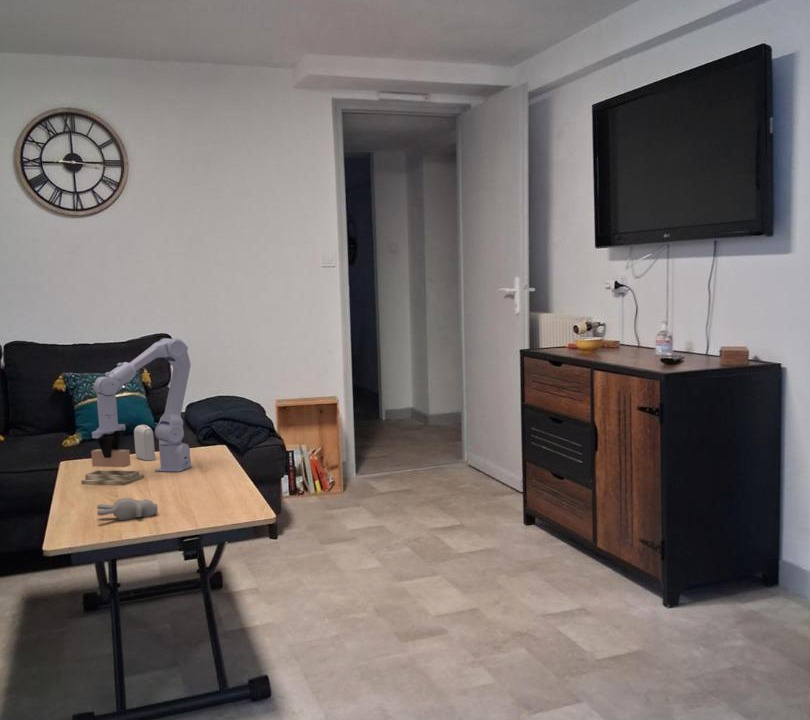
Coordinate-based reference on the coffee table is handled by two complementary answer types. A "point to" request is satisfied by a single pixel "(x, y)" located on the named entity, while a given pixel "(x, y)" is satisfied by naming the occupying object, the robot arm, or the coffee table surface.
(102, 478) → the framed rectangular tray
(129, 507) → the bunny figurine
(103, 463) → the clay strip
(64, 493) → the coffee table surface
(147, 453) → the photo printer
